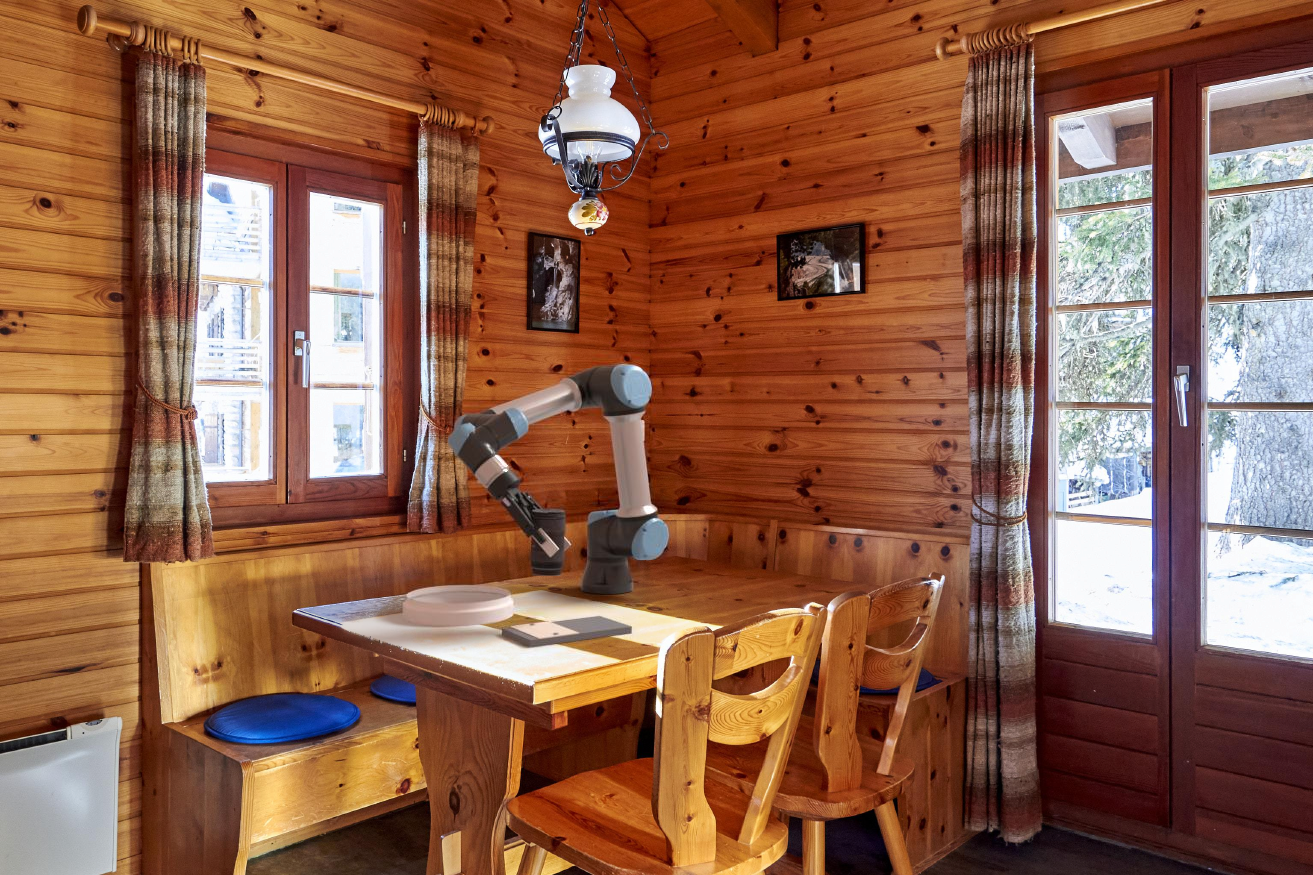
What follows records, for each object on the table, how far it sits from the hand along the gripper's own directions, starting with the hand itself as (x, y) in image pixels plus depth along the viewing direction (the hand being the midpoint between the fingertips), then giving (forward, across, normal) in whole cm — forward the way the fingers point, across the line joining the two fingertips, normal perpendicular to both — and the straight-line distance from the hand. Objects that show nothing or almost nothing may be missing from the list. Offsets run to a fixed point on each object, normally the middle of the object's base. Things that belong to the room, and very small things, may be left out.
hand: (560, 550), depth 217 cm
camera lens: (+2, 0, -6) cm, 7 cm away
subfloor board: (+15, +5, -10) cm, 19 cm away
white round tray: (-7, -8, -34) cm, 36 cm away
